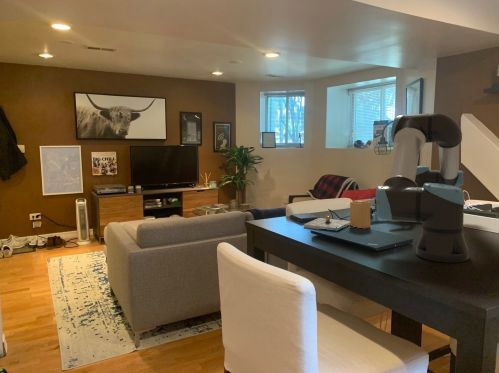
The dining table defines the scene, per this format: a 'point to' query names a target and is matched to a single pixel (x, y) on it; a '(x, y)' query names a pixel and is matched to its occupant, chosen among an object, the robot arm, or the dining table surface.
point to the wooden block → (360, 214)
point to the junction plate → (326, 223)
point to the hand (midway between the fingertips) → (375, 205)
